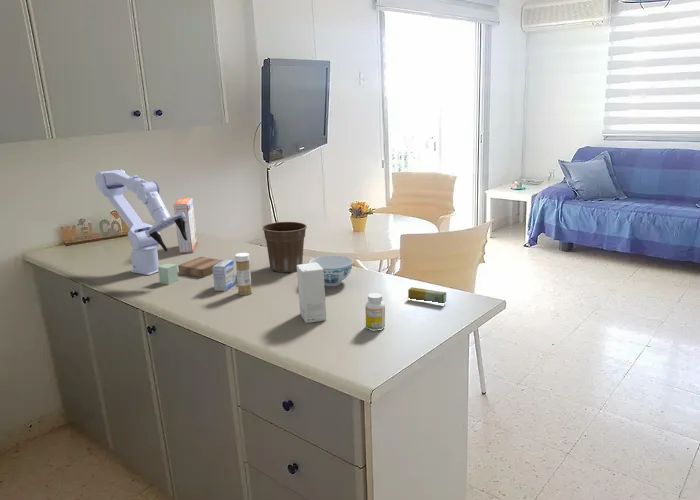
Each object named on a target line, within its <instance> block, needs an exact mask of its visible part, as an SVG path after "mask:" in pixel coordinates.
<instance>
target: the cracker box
mask: <svg viewBox="0 0 700 500" xmlns="http://www.w3.org/2000/svg"><path fill="white" fill-rule="evenodd" d="M173 211H174V215H177V214H179V213H181V212H183V213H184V215H185V217H186V218H185V219H183V220H184V221H185V232H186V236H187V239H188V240H185V239H184V238H183V236H182V234H181V231H180V229H179V228H178V226H177V224H176V223H175V229H176V236H177V244H178V251H179V254H187V253H188V254H189V253H190V254H191V253H194V250H195V249H196V247H197V244H198V238H197V229H196V228H197V227H196V219H195V211H194V200H193V197H180V198H178V199H177V201H176V202H174V204H173Z"/></svg>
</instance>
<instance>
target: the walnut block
mask: <svg viewBox="0 0 700 500" xmlns="http://www.w3.org/2000/svg"><path fill="white" fill-rule="evenodd" d="M222 260H223V259H217V258H212V257H203V256H199V257H196V258H193V259H191V260H188V261H186V262H183V263H181V264H178V265H177V268H178V273H179V274H182V275H183V274H184V275H188V276H193V277H200V278H206V277H208V276H211V275H213V268H212V267H213V266H215V265H216V264H217V263H219V262H220V261H222Z"/></svg>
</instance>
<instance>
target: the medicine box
mask: <svg viewBox="0 0 700 500" xmlns="http://www.w3.org/2000/svg"><path fill="white" fill-rule="evenodd" d="M221 260H222V261H220V262H219V263H217V264H216V265H215V266H213V267H212V268H213V274H212V276H213V284H214V291H217V292H228V291H229V290H230V289H231V288H232V287H234V285H235V284H236V273H235V261H234V260H233V259H221Z"/></svg>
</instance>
